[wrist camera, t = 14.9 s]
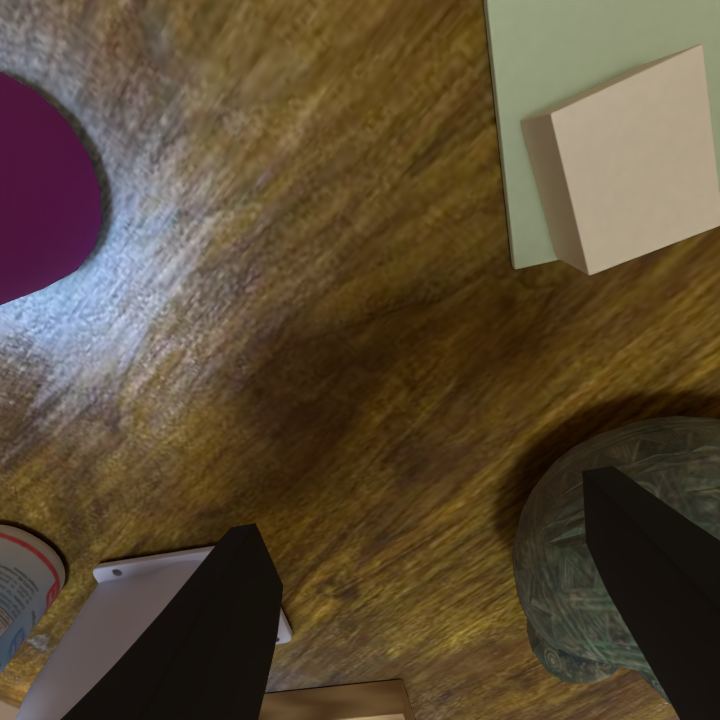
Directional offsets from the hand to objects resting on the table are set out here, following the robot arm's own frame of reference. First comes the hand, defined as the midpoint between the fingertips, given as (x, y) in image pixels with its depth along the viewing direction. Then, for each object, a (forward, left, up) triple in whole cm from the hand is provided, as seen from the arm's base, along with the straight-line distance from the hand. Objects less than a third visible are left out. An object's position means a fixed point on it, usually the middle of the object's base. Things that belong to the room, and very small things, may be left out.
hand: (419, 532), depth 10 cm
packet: (+8, +6, -10) cm, 14 cm away
